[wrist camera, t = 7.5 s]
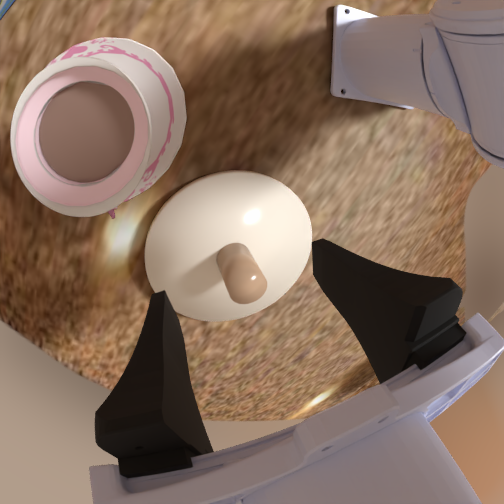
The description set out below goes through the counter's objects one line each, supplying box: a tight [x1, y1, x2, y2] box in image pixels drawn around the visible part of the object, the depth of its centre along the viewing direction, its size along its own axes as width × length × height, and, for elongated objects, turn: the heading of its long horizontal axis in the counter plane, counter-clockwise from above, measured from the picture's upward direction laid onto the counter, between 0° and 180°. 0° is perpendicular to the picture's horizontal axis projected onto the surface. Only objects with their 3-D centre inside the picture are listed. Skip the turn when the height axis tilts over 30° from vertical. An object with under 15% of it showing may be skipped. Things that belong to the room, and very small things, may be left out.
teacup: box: [10, 37, 187, 219], centre depth 14 cm, size 12×12×6 cm
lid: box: [145, 170, 312, 322], centre depth 23 cm, size 14×14×5 cm
